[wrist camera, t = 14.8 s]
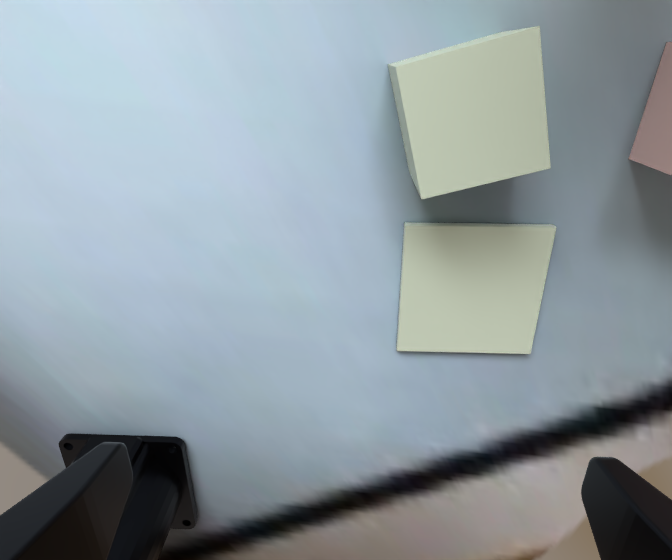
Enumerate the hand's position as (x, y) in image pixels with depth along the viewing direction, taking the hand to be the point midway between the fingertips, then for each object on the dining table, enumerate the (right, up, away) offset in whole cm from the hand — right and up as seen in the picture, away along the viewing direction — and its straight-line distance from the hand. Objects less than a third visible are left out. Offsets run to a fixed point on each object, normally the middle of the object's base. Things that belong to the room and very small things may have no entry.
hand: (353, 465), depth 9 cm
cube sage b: (+4, +10, +8) cm, 14 cm away
